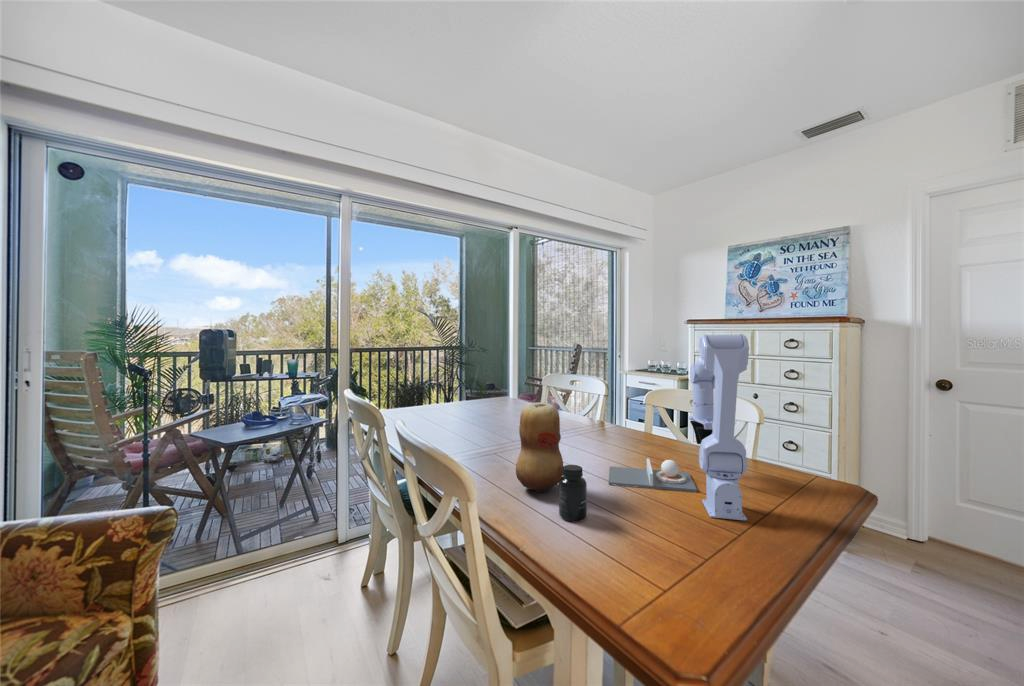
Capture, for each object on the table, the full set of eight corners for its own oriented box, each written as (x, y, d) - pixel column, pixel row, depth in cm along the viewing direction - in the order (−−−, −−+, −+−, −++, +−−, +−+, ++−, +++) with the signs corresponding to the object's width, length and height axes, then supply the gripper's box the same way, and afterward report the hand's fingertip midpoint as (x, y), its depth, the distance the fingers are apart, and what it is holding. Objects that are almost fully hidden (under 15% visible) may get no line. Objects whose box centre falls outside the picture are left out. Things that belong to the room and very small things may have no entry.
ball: (680, 476, 113) (679, 458, 115) (662, 474, 114) (661, 457, 116) (678, 478, 117) (676, 462, 119) (660, 477, 118) (659, 461, 120)
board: (697, 492, 107) (697, 477, 107) (608, 484, 114) (608, 470, 113) (688, 474, 121) (688, 461, 120) (609, 468, 127) (609, 456, 127)
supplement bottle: (589, 522, 91) (588, 472, 91) (560, 522, 91) (559, 472, 91) (584, 509, 98) (583, 462, 98) (557, 509, 98) (557, 463, 98)
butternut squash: (524, 502, 103) (523, 409, 102) (510, 484, 115) (509, 401, 115) (572, 495, 106) (570, 405, 106) (553, 478, 119) (552, 398, 119)
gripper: (684, 399, 125) (685, 440, 125) (693, 407, 111) (693, 453, 111) (708, 399, 123) (709, 441, 124) (720, 408, 109) (720, 455, 110)
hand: (703, 447), depth 117 cm, fingers open, 7 cm apart
